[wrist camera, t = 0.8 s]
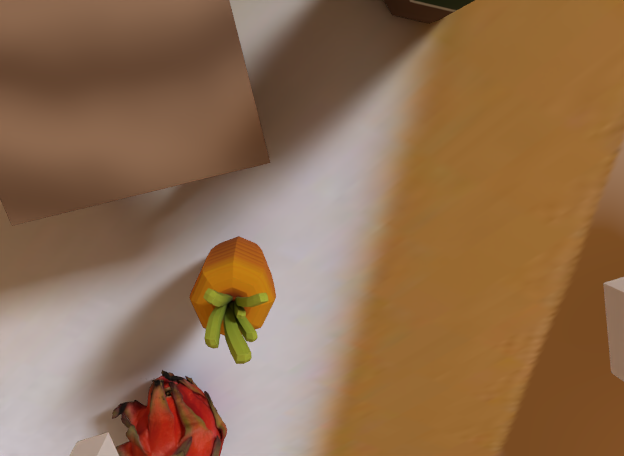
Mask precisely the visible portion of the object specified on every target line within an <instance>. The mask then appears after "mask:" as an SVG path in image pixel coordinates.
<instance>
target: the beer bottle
mask: <svg viewBox="0 0 624 456" xmlns="http://www.w3.org/2000/svg"><path fill="white" fill-rule="evenodd" d="M473 1H474V0H384V2H385V3H386V5H387V7H388V9H389V10H390V12H391V14H392V15H394V16H398V17H403V18H407V19H412V20H416V21H421V22H425V23H432V22H435V21H437V20H440V19H441V18H443V17H445V16H447V15H449V14H451V13H452V12H454V11H456V10H458V9H460V8H462V7H463V6H465V5H467V4H469V3H471V2H473Z"/></svg>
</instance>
